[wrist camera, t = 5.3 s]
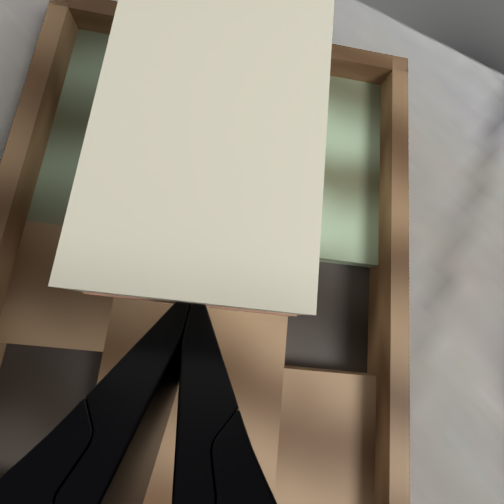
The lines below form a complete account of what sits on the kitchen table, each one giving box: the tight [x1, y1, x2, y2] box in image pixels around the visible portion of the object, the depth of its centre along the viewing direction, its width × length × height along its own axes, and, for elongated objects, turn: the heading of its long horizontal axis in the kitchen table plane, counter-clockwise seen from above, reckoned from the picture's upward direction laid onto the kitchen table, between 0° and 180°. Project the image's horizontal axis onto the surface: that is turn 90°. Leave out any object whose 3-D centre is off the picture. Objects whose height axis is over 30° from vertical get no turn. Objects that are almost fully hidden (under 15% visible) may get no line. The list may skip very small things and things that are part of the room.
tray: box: [0, 0, 410, 504], centre depth 16 cm, size 27×21×2 cm
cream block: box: [48, 0, 334, 317], centre depth 12 cm, size 12×6×9 cm, turn 174°
